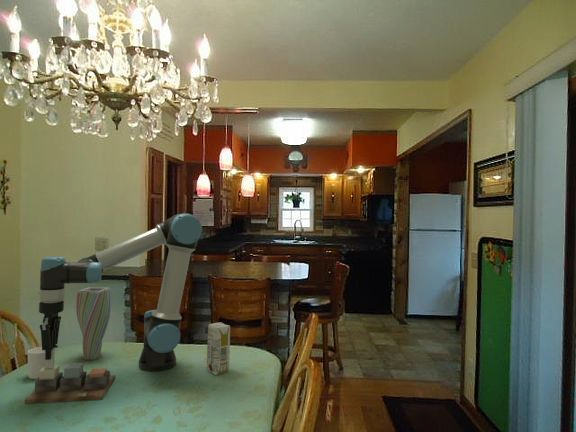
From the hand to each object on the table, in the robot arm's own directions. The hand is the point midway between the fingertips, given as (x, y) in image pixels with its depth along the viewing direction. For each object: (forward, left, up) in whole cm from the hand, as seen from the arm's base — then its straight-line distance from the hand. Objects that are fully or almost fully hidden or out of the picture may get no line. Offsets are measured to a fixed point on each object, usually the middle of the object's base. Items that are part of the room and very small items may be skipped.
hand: (49, 367), depth 142 cm
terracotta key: (-16, 0, -7) cm, 18 cm away
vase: (-5, -34, -9) cm, 36 cm away
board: (-8, 0, -8) cm, 12 cm away
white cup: (+9, -15, -9) cm, 19 cm away
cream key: (0, 0, -5) cm, 5 cm away
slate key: (-8, 0, -5) cm, 9 cm away
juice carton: (-59, -12, -9) cm, 61 cm away
